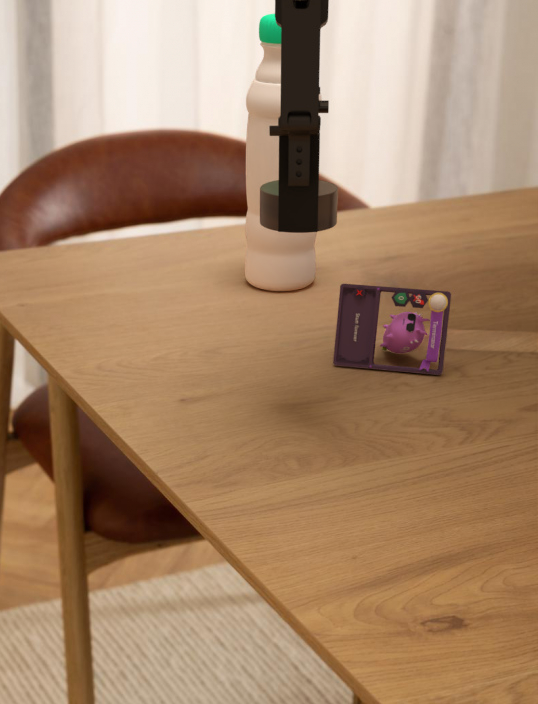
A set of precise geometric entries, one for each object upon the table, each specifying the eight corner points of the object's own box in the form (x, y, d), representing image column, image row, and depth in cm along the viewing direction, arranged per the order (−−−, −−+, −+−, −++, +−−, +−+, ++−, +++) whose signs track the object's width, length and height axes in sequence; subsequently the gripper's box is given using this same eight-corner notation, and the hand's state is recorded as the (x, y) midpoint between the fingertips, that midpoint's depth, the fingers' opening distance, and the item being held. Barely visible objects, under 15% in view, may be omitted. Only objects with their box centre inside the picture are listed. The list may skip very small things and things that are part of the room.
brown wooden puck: (336, 213, 87) (337, 178, 86) (337, 233, 82) (338, 197, 81) (261, 212, 87) (261, 178, 86) (257, 232, 82) (258, 196, 81)
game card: (339, 282, 97) (450, 291, 95) (347, 285, 102) (453, 293, 100) (331, 365, 98) (441, 375, 96) (340, 363, 103) (445, 373, 101)
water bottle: (246, 293, 115) (248, 19, 104) (242, 271, 121) (244, 10, 110) (319, 292, 115) (329, 18, 104) (311, 270, 122) (320, 10, 110)
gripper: (252, -149, 82) (252, 187, 93) (234, -152, 66) (238, 256, 77) (361, -151, 81) (349, 187, 92) (370, -154, 65) (354, 257, 76)
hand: (298, 218), depth 84 cm, fingers closed on brown wooden puck, 5 cm apart
